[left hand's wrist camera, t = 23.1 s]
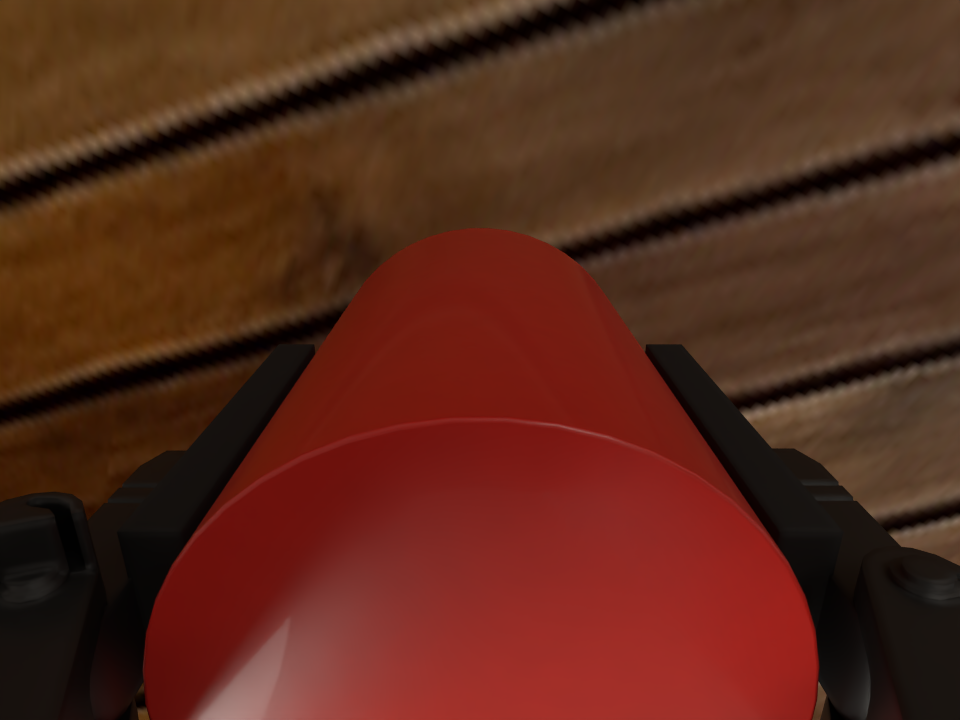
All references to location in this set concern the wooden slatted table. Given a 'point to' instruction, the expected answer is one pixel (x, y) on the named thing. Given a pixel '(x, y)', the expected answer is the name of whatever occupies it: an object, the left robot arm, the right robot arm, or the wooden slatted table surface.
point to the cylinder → (480, 525)
